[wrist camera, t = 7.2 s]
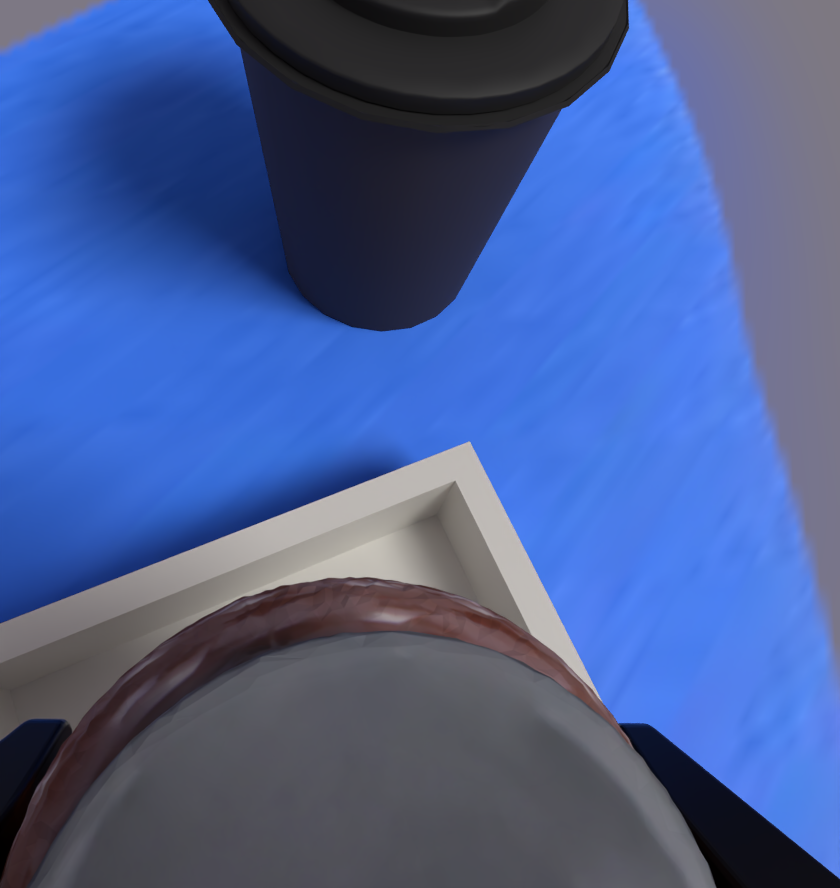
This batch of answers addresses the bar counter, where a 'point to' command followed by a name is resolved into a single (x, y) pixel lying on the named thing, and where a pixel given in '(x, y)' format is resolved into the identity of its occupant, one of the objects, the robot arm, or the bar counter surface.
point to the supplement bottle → (352, 760)
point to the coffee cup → (406, 132)
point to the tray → (284, 581)
